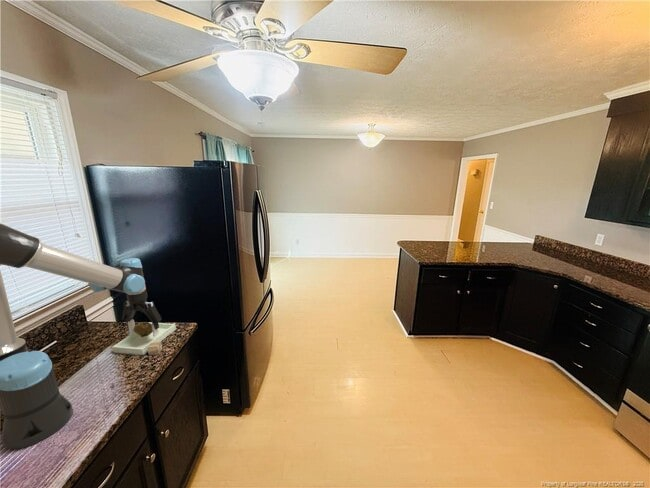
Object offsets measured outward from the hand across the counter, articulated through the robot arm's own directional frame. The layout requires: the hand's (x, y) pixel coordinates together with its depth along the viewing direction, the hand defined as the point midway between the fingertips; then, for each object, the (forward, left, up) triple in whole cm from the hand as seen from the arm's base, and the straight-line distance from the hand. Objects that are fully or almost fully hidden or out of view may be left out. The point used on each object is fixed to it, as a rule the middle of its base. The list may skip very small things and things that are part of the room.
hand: (144, 334), depth 125 cm
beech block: (-7, -11, -4) cm, 14 cm away
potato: (0, 0, -1) cm, 1 cm away
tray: (+1, 0, -4) cm, 4 cm away
